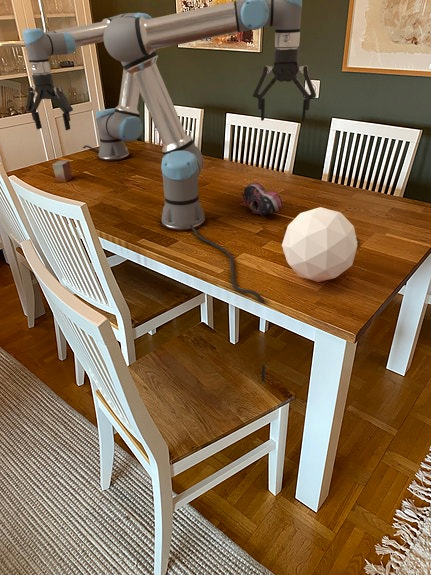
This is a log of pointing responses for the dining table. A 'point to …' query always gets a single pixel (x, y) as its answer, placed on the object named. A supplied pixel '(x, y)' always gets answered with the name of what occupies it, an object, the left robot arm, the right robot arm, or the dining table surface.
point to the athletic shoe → (261, 200)
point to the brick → (62, 171)
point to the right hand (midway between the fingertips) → (282, 120)
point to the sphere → (320, 244)
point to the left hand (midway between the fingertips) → (53, 129)
